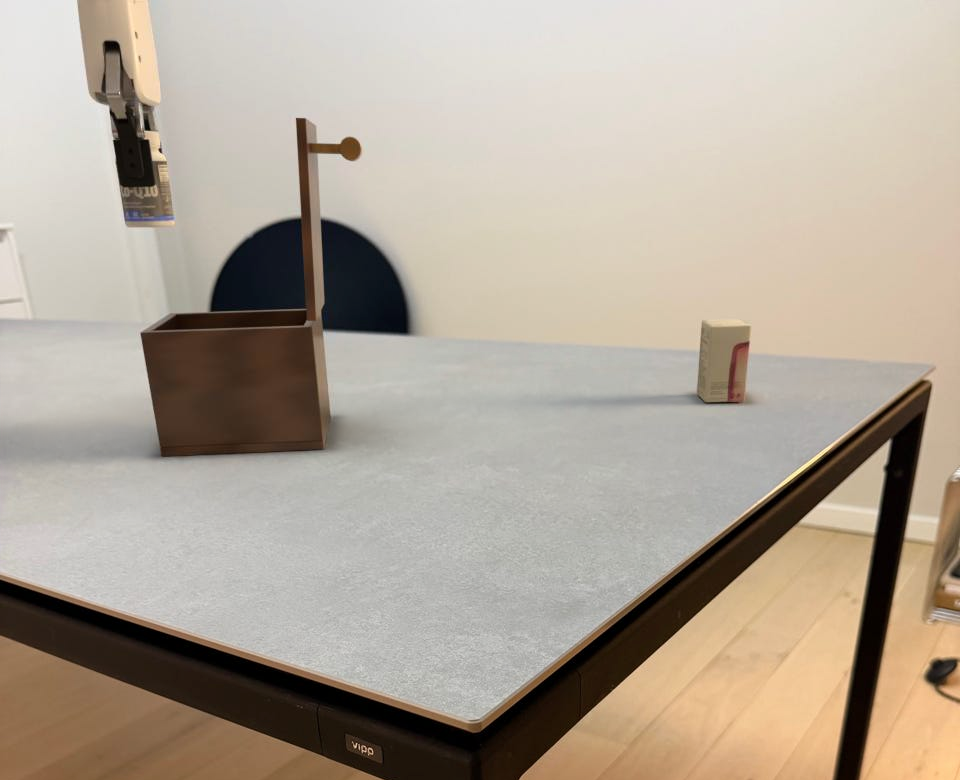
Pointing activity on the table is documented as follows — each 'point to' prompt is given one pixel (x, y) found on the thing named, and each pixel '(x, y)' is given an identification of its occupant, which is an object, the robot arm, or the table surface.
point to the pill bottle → (149, 194)
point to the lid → (315, 206)
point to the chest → (237, 382)
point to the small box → (723, 360)
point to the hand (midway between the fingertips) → (144, 184)
